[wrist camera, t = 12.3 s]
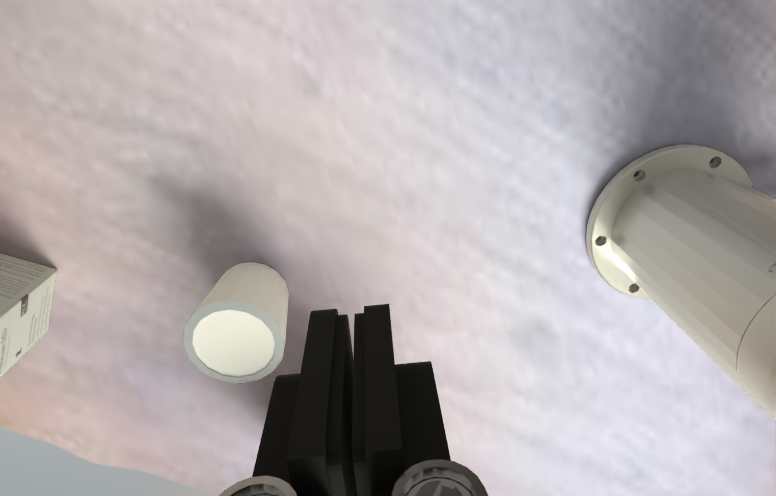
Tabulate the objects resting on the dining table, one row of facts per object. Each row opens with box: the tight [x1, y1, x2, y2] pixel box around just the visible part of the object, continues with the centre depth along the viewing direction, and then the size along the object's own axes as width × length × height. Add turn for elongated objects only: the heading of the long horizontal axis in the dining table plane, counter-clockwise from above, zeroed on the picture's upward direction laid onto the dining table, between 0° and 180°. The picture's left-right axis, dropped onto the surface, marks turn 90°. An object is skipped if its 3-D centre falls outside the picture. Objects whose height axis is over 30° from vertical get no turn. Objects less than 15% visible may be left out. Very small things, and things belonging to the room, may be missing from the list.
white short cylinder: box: [183, 262, 289, 384], centre depth 38 cm, size 7×7×7 cm
